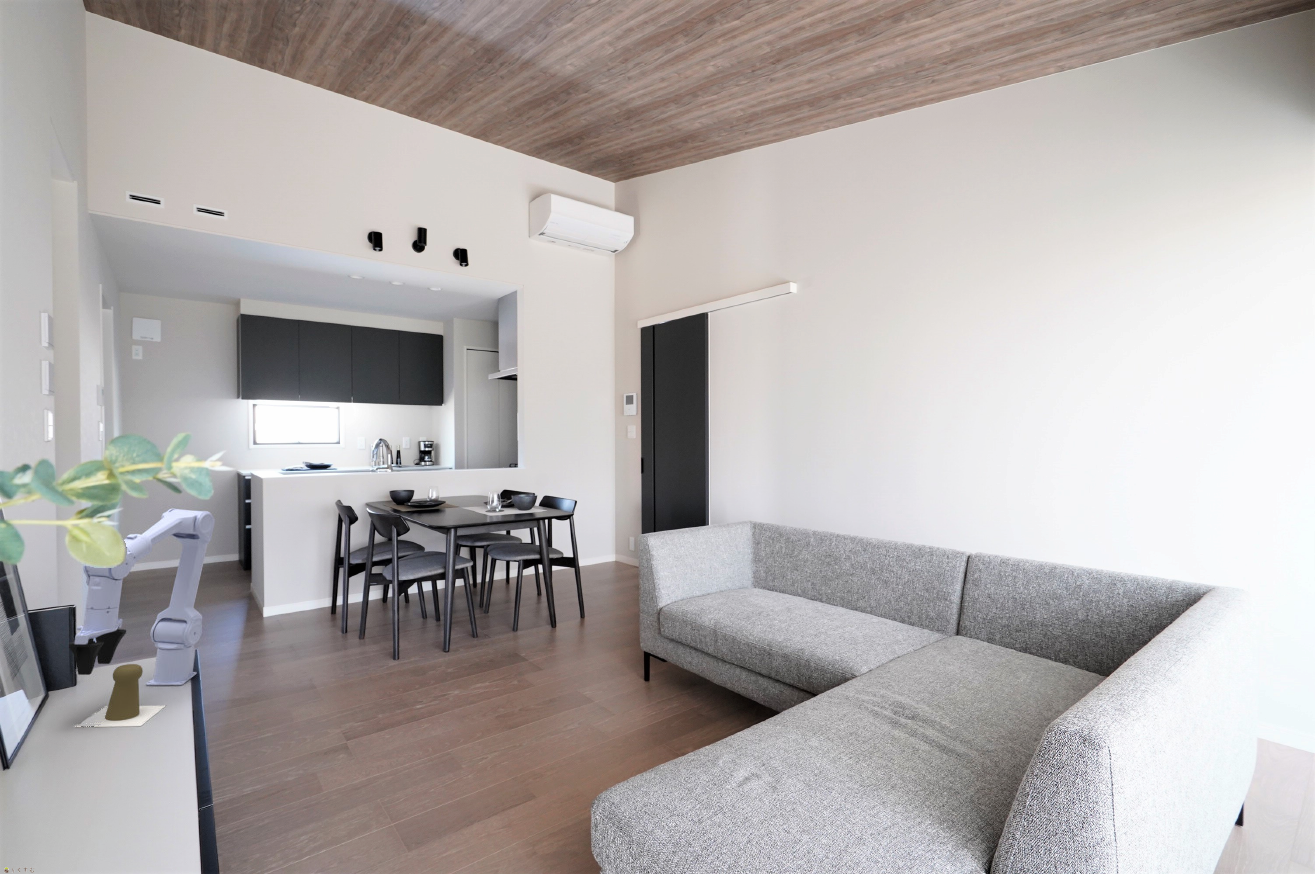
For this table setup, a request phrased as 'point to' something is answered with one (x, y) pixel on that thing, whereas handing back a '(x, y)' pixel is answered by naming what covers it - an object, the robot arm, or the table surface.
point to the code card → (139, 720)
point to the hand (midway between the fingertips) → (94, 668)
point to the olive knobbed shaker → (125, 693)
